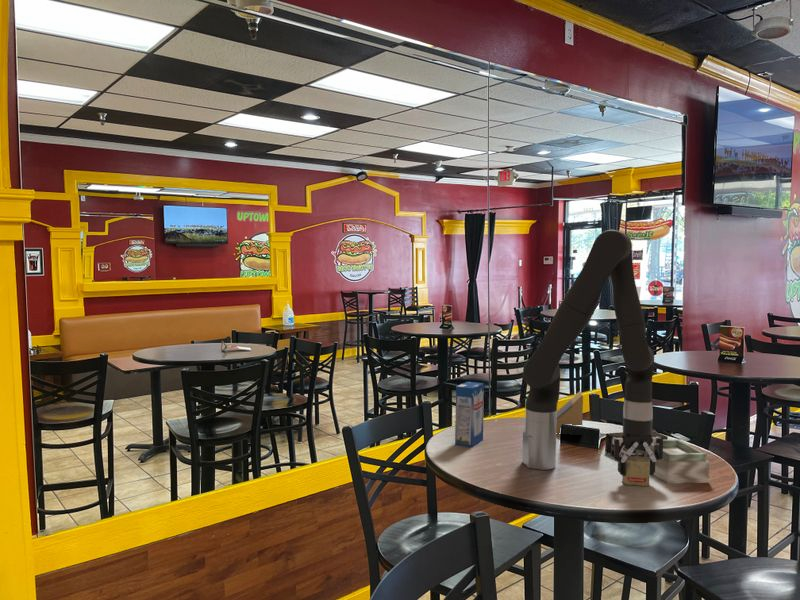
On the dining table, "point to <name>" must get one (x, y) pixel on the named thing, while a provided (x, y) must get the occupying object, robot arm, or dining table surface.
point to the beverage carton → (619, 435)
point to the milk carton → (469, 414)
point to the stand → (681, 463)
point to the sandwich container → (571, 412)
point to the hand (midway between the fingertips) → (636, 474)
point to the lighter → (637, 469)
